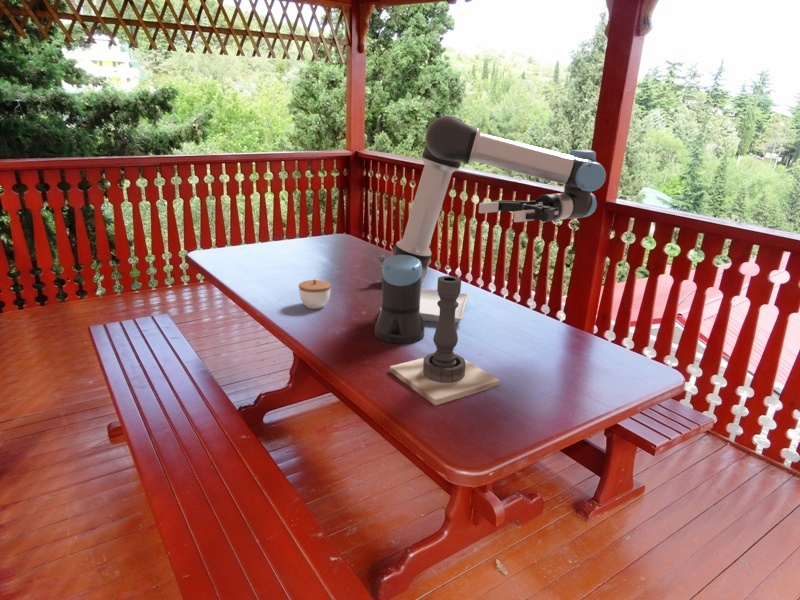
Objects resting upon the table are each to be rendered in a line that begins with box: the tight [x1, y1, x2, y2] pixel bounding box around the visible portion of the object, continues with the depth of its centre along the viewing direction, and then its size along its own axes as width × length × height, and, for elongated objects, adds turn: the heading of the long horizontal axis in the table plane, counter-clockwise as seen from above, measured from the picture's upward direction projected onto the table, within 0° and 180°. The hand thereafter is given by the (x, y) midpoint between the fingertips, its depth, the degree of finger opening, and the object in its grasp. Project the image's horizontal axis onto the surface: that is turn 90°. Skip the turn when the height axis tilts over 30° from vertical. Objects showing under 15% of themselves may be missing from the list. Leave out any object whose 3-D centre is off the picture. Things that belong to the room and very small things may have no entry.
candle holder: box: [432, 275, 462, 368], centre depth 135 cm, size 6×6×25 cm
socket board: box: [389, 352, 500, 407], centre depth 139 cm, size 20×20×5 cm
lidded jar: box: [298, 278, 332, 310], centre depth 186 cm, size 11×11×9 cm
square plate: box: [379, 287, 470, 324], centre depth 187 cm, size 27×27×4 cm
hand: (496, 212), depth 143 cm, fingers open, 13 cm apart
